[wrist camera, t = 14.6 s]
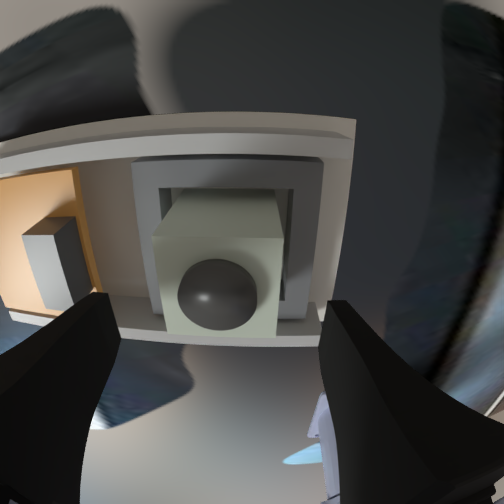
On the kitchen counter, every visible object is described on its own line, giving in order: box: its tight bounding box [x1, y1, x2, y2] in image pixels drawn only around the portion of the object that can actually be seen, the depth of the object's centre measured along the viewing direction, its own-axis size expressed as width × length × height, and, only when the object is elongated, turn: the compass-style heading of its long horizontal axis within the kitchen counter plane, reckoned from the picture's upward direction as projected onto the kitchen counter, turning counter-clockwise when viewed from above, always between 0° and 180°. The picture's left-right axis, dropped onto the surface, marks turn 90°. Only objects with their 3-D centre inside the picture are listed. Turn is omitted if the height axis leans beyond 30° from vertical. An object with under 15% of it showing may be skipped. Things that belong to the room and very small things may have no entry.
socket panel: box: [0, 111, 356, 347], centre depth 15 cm, size 22×12×4 cm, turn 89°
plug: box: [151, 189, 284, 338], centre depth 13 cm, size 4×4×6 cm
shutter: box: [0, 166, 103, 316], centre depth 13 cm, size 8×8×3 cm
